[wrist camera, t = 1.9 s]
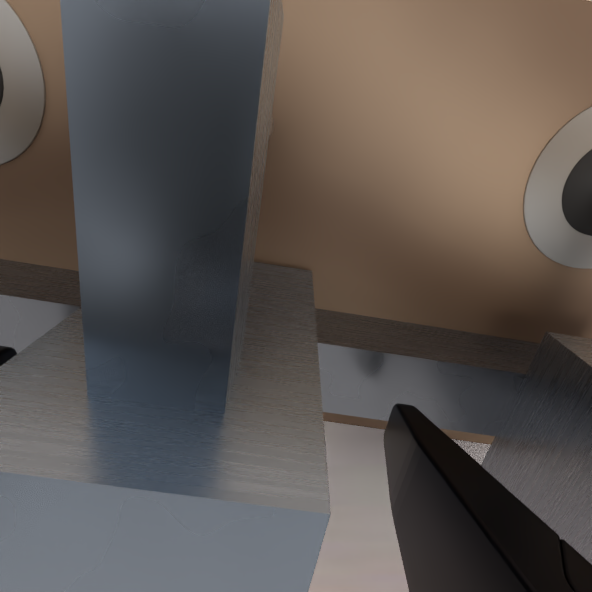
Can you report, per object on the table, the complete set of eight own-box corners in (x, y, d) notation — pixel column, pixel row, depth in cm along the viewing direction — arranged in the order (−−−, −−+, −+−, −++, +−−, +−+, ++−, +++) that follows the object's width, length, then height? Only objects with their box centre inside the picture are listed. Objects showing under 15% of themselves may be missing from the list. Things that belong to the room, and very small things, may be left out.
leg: (287, 401, 12) (267, 731, 5) (159, 383, 11) (-30, 701, 5) (346, 91, 8) (511, -106, 2) (167, 57, 8) (-396, -302, 2)
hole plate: (603, 441, 14) (629, 467, 13) (-94, 341, 12) (-132, 359, 11) (839, 72, 9) (911, 63, 8) (-232, -144, 8) (-317, -189, 7)
